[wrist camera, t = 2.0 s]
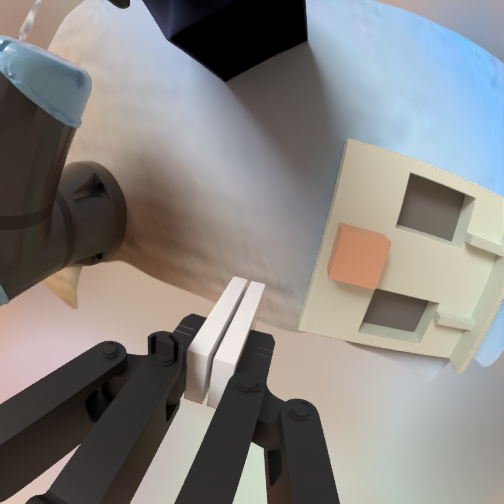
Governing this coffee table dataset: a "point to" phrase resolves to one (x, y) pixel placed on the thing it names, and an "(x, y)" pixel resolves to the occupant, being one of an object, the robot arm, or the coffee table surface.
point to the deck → (412, 258)
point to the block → (358, 256)
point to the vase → (229, 30)
